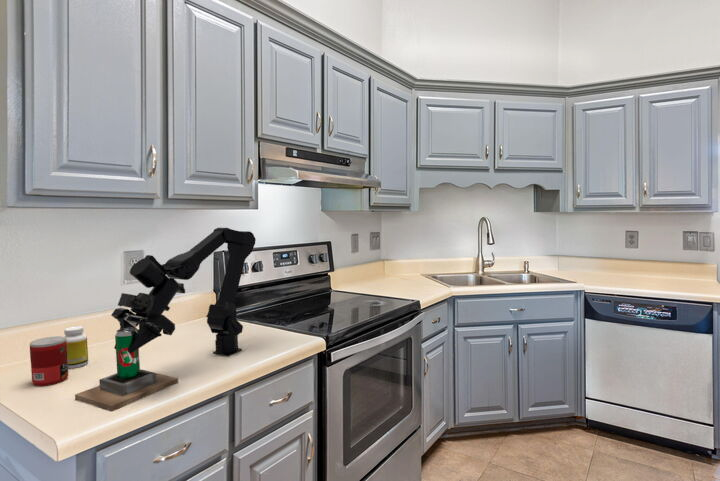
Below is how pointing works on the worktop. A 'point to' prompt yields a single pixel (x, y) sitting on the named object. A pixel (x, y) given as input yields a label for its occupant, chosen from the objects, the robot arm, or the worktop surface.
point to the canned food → (49, 360)
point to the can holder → (125, 389)
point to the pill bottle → (76, 347)
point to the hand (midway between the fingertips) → (122, 350)
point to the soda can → (126, 354)
